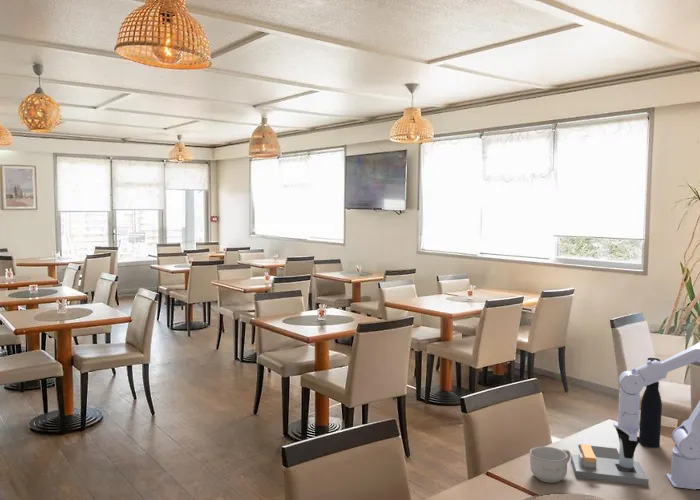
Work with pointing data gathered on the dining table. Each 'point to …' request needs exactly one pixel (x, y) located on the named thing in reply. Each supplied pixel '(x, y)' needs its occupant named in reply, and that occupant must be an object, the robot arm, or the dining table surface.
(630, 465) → the cylinder
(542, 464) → the teacup
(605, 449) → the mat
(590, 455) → the plunger
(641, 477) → the housing
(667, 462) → the dining table surface
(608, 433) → the dining table surface
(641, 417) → the black bottle
